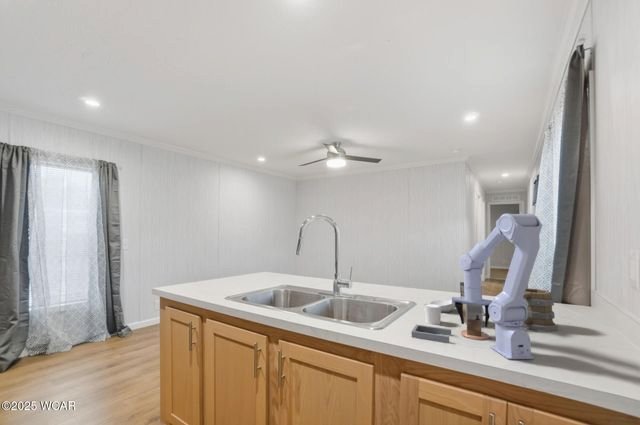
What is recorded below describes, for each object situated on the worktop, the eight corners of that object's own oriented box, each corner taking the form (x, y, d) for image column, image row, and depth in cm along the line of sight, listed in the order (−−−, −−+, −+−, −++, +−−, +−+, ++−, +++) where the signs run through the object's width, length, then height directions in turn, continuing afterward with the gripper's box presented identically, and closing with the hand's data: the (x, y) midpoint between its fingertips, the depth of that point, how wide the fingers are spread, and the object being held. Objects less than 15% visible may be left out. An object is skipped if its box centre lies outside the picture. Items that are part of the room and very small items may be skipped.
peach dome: (494, 339, 103) (494, 338, 103) (468, 340, 103) (468, 338, 103) (480, 331, 112) (479, 329, 112) (456, 331, 112) (456, 329, 112)
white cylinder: (423, 323, 122) (422, 306, 122) (425, 319, 128) (425, 302, 128) (440, 325, 119) (440, 308, 119) (442, 321, 125) (442, 304, 125)
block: (481, 333, 108) (481, 320, 109) (481, 336, 104) (480, 324, 105) (467, 331, 110) (467, 318, 111) (467, 334, 107) (466, 322, 107)
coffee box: (460, 319, 128) (459, 281, 129) (476, 319, 126) (475, 282, 127) (466, 325, 119) (465, 285, 120) (484, 326, 117) (482, 286, 118)
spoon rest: (428, 312, 139) (428, 297, 140) (430, 306, 150) (430, 292, 150) (485, 318, 129) (484, 301, 130) (483, 311, 140) (482, 296, 140)
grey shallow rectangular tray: (451, 334, 108) (451, 329, 108) (449, 343, 100) (448, 337, 101) (416, 329, 114) (416, 324, 114) (411, 337, 106) (411, 331, 106)
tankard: (531, 319, 126) (529, 284, 127) (564, 328, 114) (561, 289, 115) (497, 325, 119) (495, 287, 120) (528, 335, 107) (526, 293, 108)
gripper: (494, 287, 109) (496, 324, 108) (452, 284, 116) (453, 319, 115) (495, 290, 102) (497, 330, 102) (450, 287, 109) (452, 324, 108)
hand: (474, 324), depth 108 cm, fingers open, 7 cm apart
